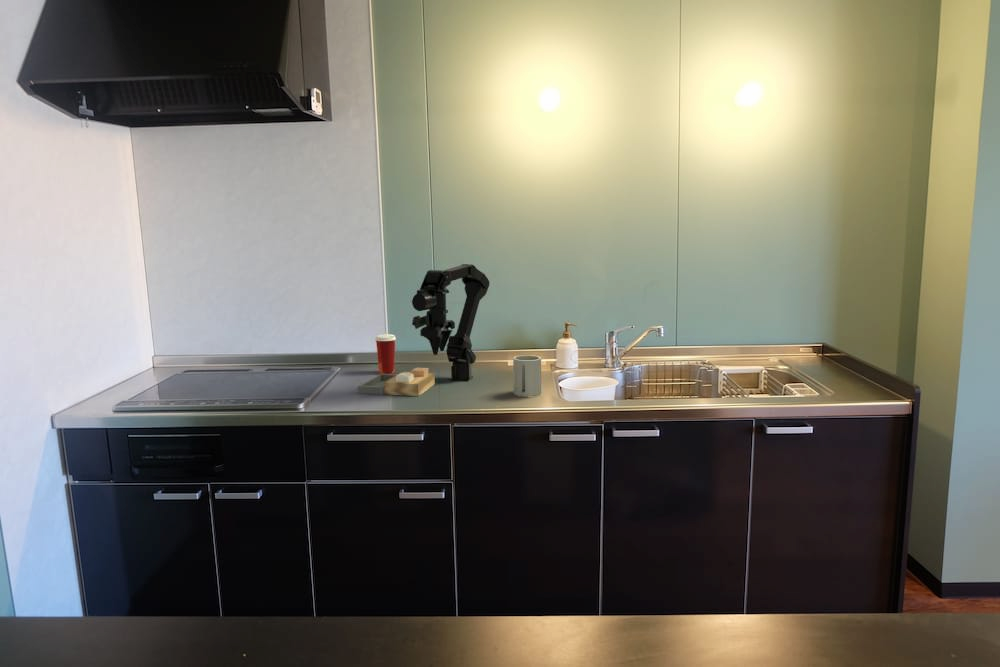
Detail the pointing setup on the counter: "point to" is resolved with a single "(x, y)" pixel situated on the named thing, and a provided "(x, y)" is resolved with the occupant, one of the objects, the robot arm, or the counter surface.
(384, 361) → the paper cup
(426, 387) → the wooden flat block
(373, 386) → the box
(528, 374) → the cup
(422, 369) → the terracotta tile
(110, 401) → the counter surface
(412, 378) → the off-white tile
